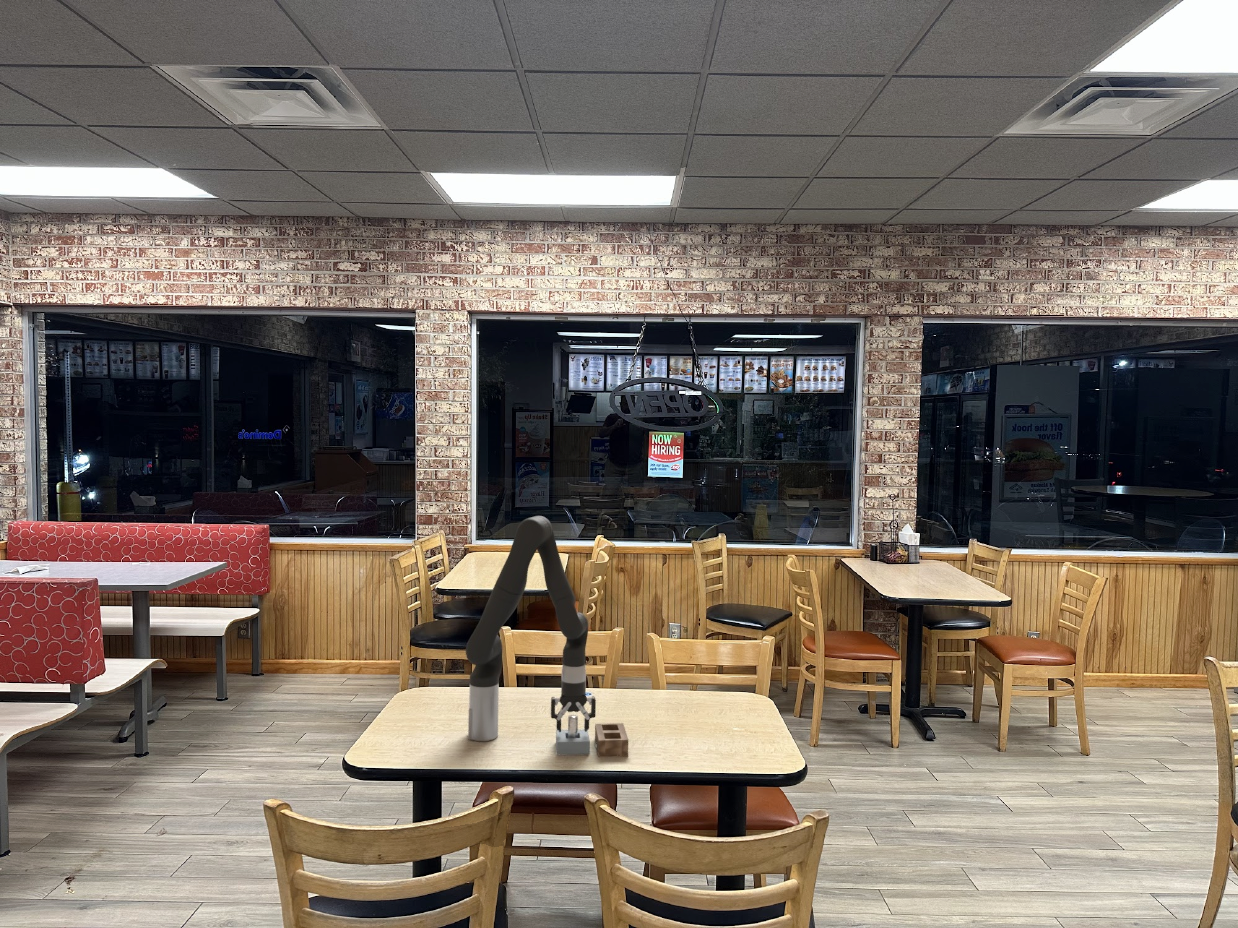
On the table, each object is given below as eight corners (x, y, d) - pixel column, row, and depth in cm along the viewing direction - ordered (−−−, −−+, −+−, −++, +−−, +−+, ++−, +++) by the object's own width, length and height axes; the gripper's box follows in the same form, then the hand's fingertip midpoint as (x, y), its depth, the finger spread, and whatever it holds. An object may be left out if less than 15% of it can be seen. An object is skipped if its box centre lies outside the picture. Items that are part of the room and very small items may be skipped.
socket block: (556, 754, 238) (557, 741, 238) (555, 742, 248) (556, 729, 247) (589, 754, 239) (589, 741, 239) (587, 741, 249) (587, 729, 249)
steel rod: (567, 750, 242) (568, 718, 241) (567, 746, 244) (568, 714, 244) (577, 749, 242) (578, 717, 242) (577, 746, 245) (577, 714, 245)
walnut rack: (598, 756, 237) (598, 740, 237) (594, 739, 251) (595, 723, 251) (628, 755, 238) (628, 739, 238) (622, 738, 252) (623, 722, 252)
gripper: (550, 682, 238) (549, 735, 238) (597, 681, 240) (596, 734, 240) (550, 675, 245) (549, 726, 246) (595, 674, 247) (594, 726, 247)
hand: (572, 730), depth 243 cm, fingers open, 7 cm apart
